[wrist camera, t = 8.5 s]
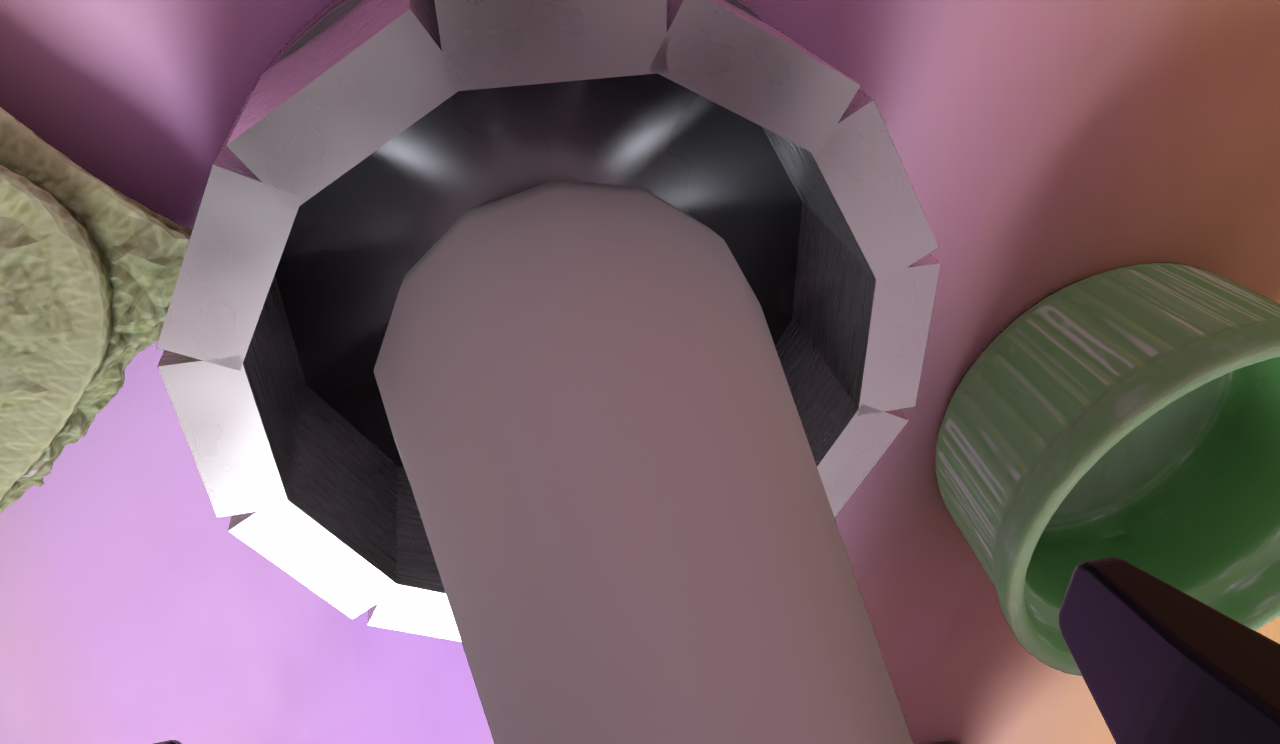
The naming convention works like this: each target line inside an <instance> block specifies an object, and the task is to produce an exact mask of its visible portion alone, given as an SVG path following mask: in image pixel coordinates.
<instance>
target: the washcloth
mask: <svg viewBox="0 0 1280 744" xmlns="http://www.w3.org/2000/svg"><path fill="white" fill-rule="evenodd" d="M191 234H192V230H191V229H189V228H187V227H184V226H181V225H178V224H176V223H174V222H173V221H171V220H169V219H168V218H166V217H164V216H162V215H160V214H158V213H155V212H153V211H151V210H150V209H148V208H147V207H145V206H144V205H142V204H141V203H139V202H137V201H135V200H133V199H131V198H129V197H127V196H125V195H124V194H122V193H121V192H119V191H118V190H116V189H114V188H112V187H111V186H109V185H107V184H105V183H104V182H102V181H101V180H99V179H98V178H96V177H95V176H93V175H91V174H90V173H89V172H87V171H86V170H84V169H83V168H82V167H80V166H79V165H77V164H75V163H74V162H72V161H71V160H70V159H69V158H68V157H67V156H66V155H65V154H63V153H61V152H60V151H58V150H57V149H55V148H53V147H52V146H51V145H49V144H48V143H46V142H45V141H44V140H42V139H41V138H40V137H38V136H37V135H36V134H35V133H34V132H33V131H31V130H30V129H29V128H27V127H26V126H25V125H23V124H22V123H21V122H19V121H18V120H17V119H15V118H14V117H13V116H12V115H10V114H9V113H8V112H6V111H5V110H4V109H2V108H1V107H0V512H2V511H3V510H4V509H5V508H7V507H8V506H10V505H11V504H13V503H14V502H15V501H17V500H18V499H19V498H20V497H21V496H22V495H23V493H24V492H25V491H26V490H27V489H28V488H30V487H31V486H32V485H33V484H34V485H37V486H40V487H41V486H42V485H43V484H44V482H43V477H44V476H46V475H48V474H50V473H51V469H52V465H53V462H54V461H55V460H56V459H57V458H58V457H59V456H60V454H61V452H62V450H63V448H64V446H65V445H66V444H70V443H75V442H77V441H78V439H79V438H81V437H83V436H85V435H86V433H87V431H88V428H89V426H90V424H91V423H92V422H93V420H94V417H95V414H96V413H99V412H100V411H101V410H102V409H103V408H104V407H105V406H106V405H107V404H108V402H109V401H110V400H111V399H112V398H113V397H114V396H115V395H116V394H117V393H118V391H119V389H120V388H122V387H123V384H124V380H125V378H124V369H125V368H126V367H127V365H128V364H129V363H130V362H131V360H132V359H133V358H134V356H135V355H137V354H138V353H139V352H140V351H142V350H144V349H146V348H148V347H149V346H150V345H151V344H153V343H154V342H157V341H158V340H159V338H160V334H161V331H162V328H163V325H164V321H165V318H166V315H167V312H168V308H169V305H170V302H171V299H172V295H173V292H174V289H175V286H176V282H177V279H178V276H179V273H180V269H181V266H182V263H183V260H184V256H185V253H186V250H187V247H188V243H189V240H190V237H191Z"/></svg>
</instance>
